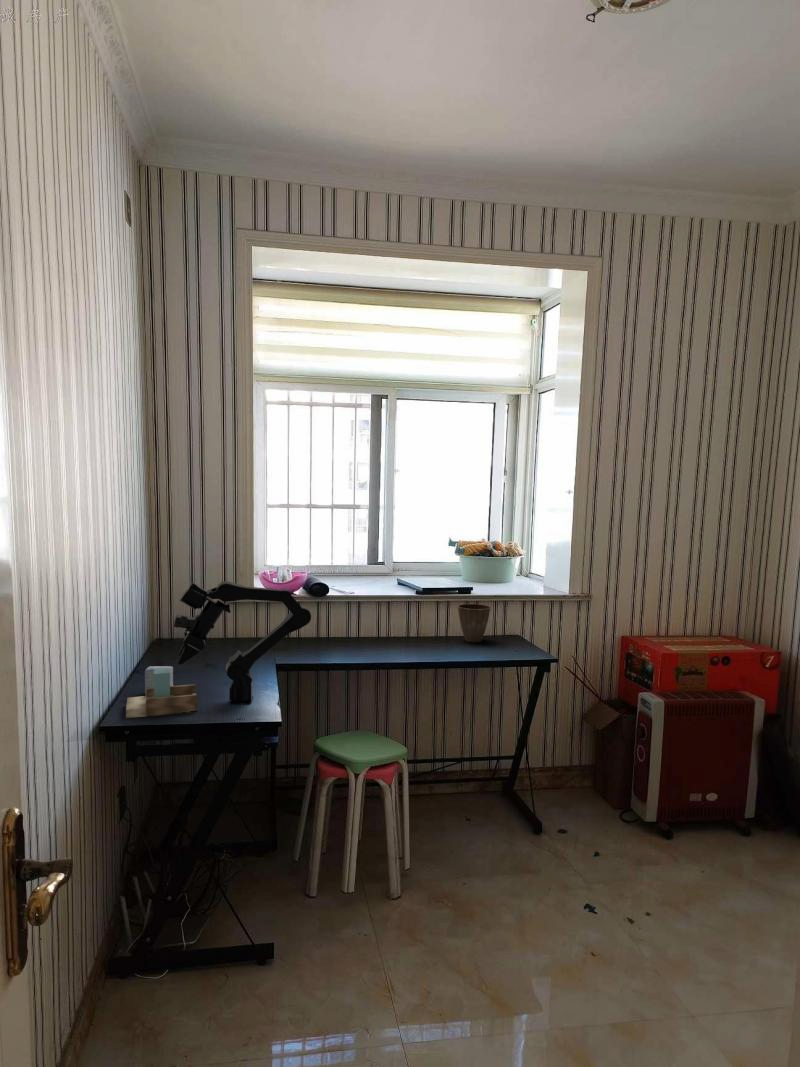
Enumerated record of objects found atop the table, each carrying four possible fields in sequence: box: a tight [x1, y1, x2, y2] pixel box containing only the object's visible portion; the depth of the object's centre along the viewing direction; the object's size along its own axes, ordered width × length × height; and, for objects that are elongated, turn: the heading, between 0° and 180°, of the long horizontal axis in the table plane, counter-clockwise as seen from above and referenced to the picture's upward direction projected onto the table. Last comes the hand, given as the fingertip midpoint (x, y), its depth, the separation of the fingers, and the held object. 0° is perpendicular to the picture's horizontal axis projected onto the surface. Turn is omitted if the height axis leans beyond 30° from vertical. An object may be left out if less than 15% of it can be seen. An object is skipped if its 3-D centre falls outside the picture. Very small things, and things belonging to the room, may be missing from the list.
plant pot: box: [457, 603, 491, 643], centre depth 303 cm, size 15×15×16 cm
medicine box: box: [144, 665, 174, 696], centre depth 216 cm, size 8×4×9 cm, turn 92°
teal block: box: [154, 669, 170, 698], centre depth 201 cm, size 4×4×9 cm
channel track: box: [125, 683, 198, 719], centre depth 201 cm, size 20×12×5 cm, turn 110°
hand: (179, 660), depth 203 cm, fingers open, 9 cm apart
